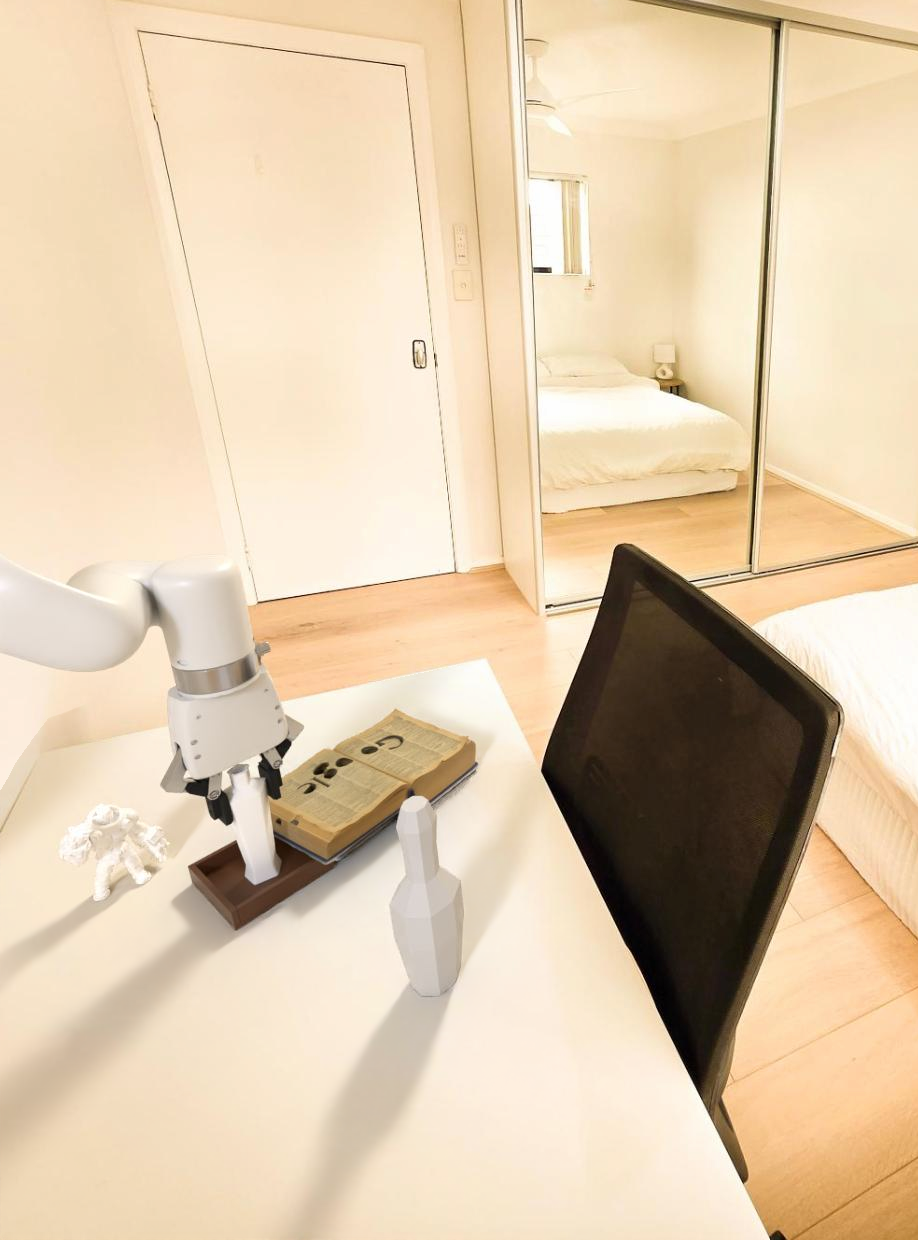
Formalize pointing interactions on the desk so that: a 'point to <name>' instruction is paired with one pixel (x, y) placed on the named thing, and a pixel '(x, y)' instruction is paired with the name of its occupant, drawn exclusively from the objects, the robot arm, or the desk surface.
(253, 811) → the white faceted vase
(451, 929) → the low poly bottle
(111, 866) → the figurine
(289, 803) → the book
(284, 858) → the tray
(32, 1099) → the desk surface
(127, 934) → the desk surface
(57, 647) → the robot arm
